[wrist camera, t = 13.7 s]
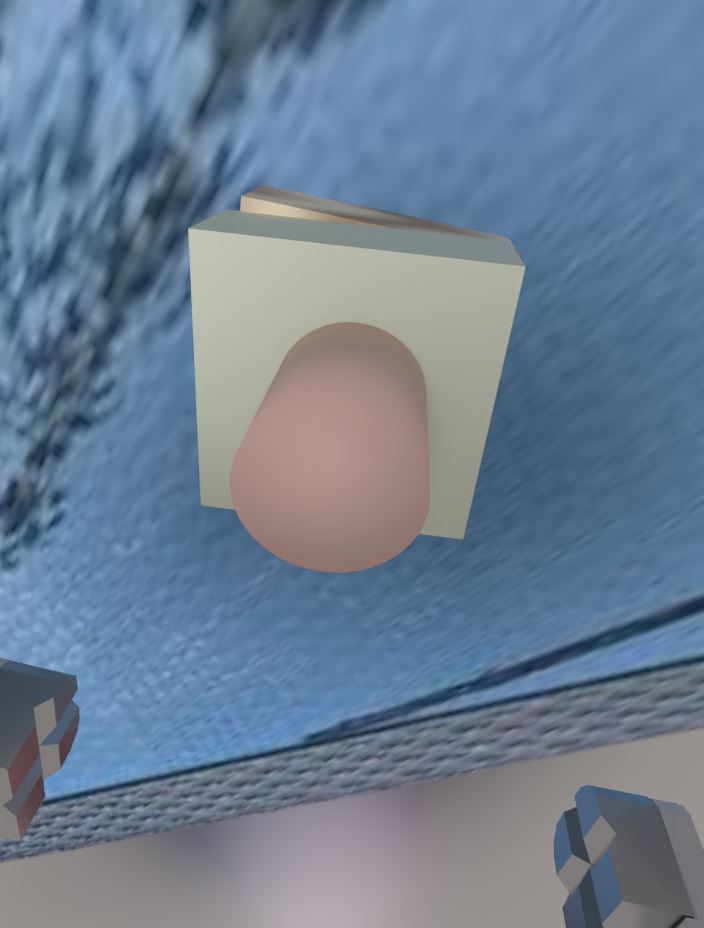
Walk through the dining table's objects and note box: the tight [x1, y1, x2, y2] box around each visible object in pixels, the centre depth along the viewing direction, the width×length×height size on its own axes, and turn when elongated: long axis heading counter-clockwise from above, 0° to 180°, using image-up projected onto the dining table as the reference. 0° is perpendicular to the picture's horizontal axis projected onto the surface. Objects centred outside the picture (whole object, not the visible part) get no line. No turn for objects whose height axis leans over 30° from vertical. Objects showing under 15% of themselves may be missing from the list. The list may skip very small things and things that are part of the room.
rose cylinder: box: [230, 322, 430, 573], centre depth 18 cm, size 5×5×6 cm
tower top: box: [188, 210, 526, 540], centre depth 22 cm, size 10×10×4 cm
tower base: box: [240, 185, 521, 257], centre depth 26 cm, size 10×10×4 cm
